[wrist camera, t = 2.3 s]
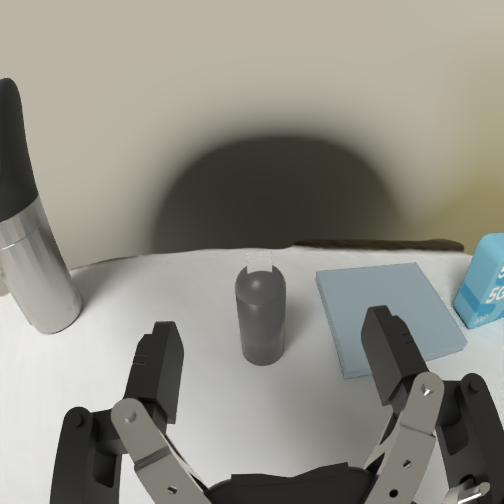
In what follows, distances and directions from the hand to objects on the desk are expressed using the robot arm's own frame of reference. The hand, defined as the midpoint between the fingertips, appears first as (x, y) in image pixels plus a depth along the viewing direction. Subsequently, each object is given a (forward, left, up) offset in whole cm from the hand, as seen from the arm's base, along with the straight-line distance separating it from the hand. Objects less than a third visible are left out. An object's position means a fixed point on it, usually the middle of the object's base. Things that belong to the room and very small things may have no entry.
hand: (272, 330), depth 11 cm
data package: (+32, +11, -17) cm, 38 cm away
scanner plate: (+16, +14, -17) cm, 27 cm away
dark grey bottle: (0, +11, -17) cm, 20 cm away
